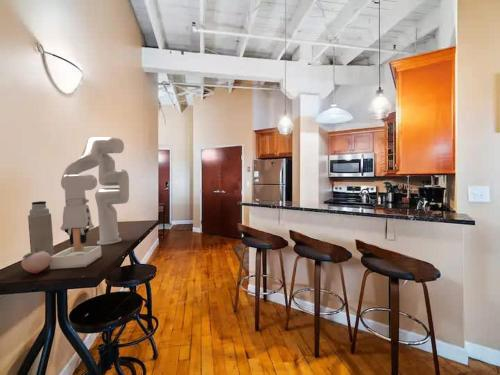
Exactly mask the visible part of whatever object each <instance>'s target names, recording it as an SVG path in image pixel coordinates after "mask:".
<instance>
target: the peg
mask: <svg viewBox="0 0 500 375" xmlns="http://www.w3.org/2000/svg"><path fill="white" fill-rule="evenodd" d="M72 230H73V244H72V245H73V247H74V251H82V250H84V249H83V247H84V243H83V244H81V239H80V235H82V234H81V229H80V228H73V229H72Z"/></svg>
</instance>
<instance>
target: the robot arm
mask: <svg viewBox="0 0 500 375" xmlns="http://www.w3.org/2000/svg"><path fill="white" fill-rule="evenodd" d="M124 149H125V143H124V142H123V140H122V139H121V138H119V137H117V138H116V137H109V136H108V137H105V136H104V137H100V136H98V137H96V136H95V137H90V138H88V140H86V143H85V146H84V148H83V150H82V153H81V156H80V157H79V158H77V159H75V160H73V162H71V163H70V164H68V165H67V166H66V167H65V169H64V171H63V174H62V175H61V180H60V185H61V188H62V189H63V190H64V200H65V206H64V207H63V213H62V225H61V226H60V228H59V229H60V230H61V231H62V232H65V233H66V234H67V235H68V236H69V243H70V245H74V244H73V230H72V229H73V228H80V229H81V234H82V235H80V239H81V244H83V245H84V244H85V243H86V242H87V240H88V239H87V234H88V232H89V231H90V230H92V229H93V228H95V225H94V224H93V223H92V214H91V211H90V206H89V204H87V203H89V199H87V198H86V191H92V190H94V189H96V187H97V185H98V182H99V185H101V186H102V188H99V189H97V190H96V191H95V193H94V197H95V202H96V206H97V216H98V229H99V230H98V231H99V240H97V241H96V244H97V245H98V246H102V245H103V246H104V245H113V244H116V243H117V244H118V243H120V242H121V241H122V238H121V237H119V236H120V232H119V229H118V228H119V227H118V212H117V211H118V210H117V209H116V207H114V206H113V205H122V204H123V205H124V204H126V203H129V198H130V178H129V172H128V171H127V170H125V169H120V168H119V169H117V168H116V161H115V159H114V157H112V156H111V154H121V153H123V151H124ZM96 167H98V178H97V177H96V176H95V175H93V174H88V173H87V174H81V173H82V172H86V171H89V170H92V169H94V168H96ZM97 179H98V180H97ZM103 186H104V187H103ZM113 186H118V187H113Z"/></svg>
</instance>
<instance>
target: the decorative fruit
mask: <svg viewBox="0 0 500 375" xmlns="http://www.w3.org/2000/svg"><path fill="white" fill-rule="evenodd" d="M45 251H46V252H45ZM47 252H48V251H47V250H39V251H37V249H36V252H31V251H30V252H27V253H26V254H24V255H23V256H22V260H21V267H22V268H23V269H24V271H26V272H28V273H31V274H39V273H40V272H42V271H44V270H45V269H47V268H48V267H49V266H50V265H49V264H50V261H51V256H50V254H49V253H47ZM48 265H49V266H48Z"/></svg>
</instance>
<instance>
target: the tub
mask: <svg viewBox="0 0 500 375" xmlns="http://www.w3.org/2000/svg"><path fill="white" fill-rule="evenodd" d="M83 249H84V250H82V251H74V246H73V247H68V248H66V249H63V250H61V251H59V252H58V253H54V255H53V256H51V261H50V265H49V269H50V270H57V269H58V270H59V269H71V268H73V269H74V268H85V267H87V266H89V265H90V264H92V263H93V262H95V261H96V260H98V259H99V258H101V257H102V254H103V253H102V245H93V246H92V245H91V246H83Z"/></svg>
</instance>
